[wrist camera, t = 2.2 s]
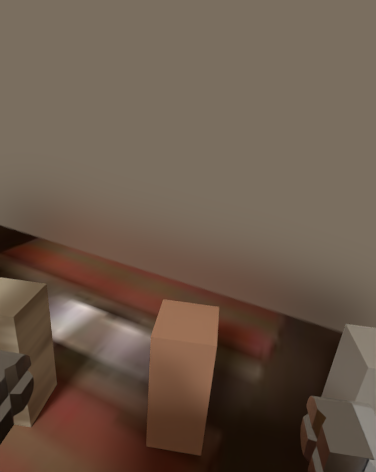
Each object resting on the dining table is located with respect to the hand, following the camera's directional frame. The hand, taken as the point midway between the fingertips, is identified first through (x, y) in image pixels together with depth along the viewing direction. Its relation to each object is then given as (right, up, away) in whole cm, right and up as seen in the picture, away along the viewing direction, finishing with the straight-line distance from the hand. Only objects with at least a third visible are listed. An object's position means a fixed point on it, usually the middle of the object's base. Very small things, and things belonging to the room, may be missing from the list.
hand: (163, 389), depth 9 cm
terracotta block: (0, -12, +18) cm, 22 cm away
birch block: (-14, -10, +19) cm, 26 cm away
